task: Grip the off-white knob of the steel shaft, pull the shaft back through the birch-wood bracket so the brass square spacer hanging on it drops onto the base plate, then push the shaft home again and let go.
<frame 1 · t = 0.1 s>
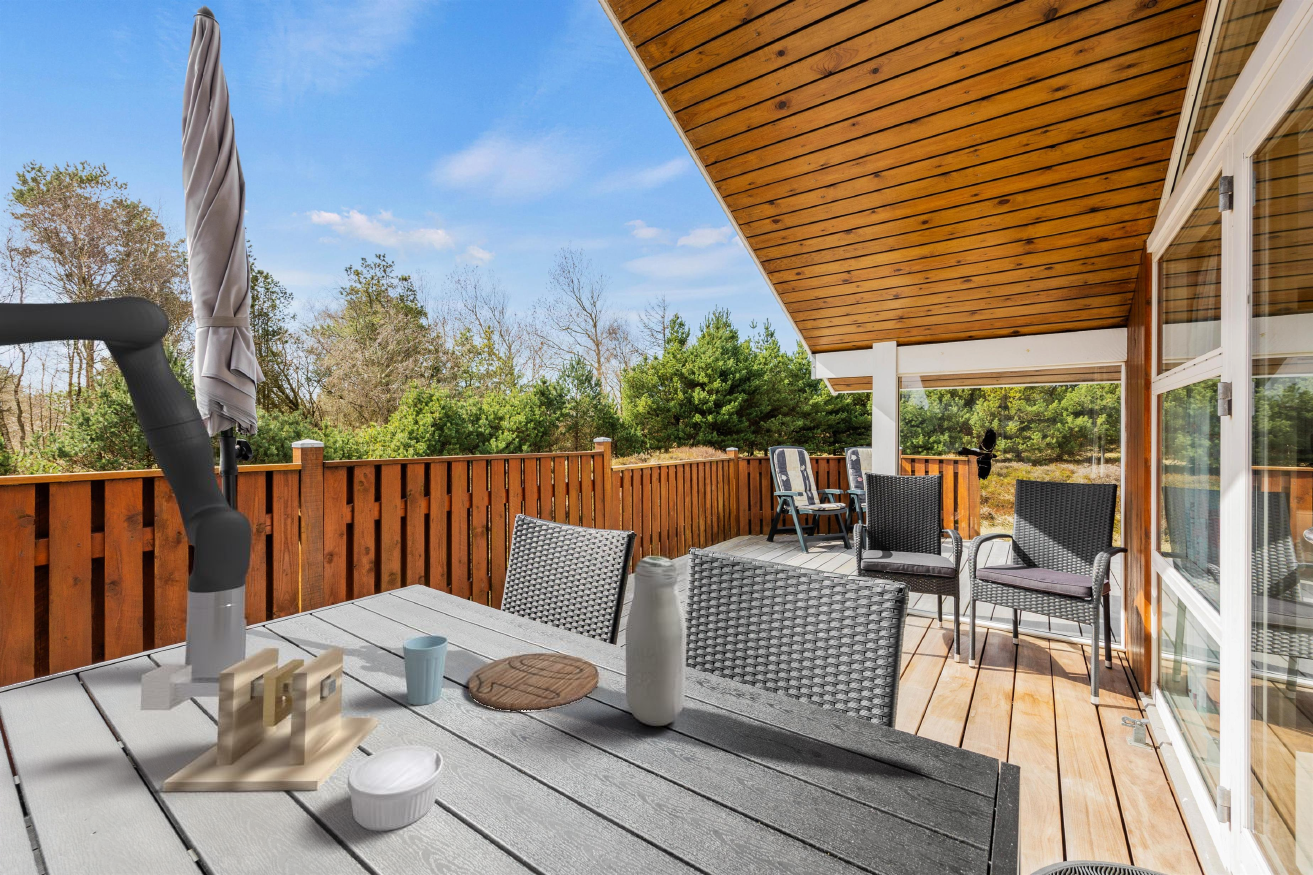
bracket: (282, 754, 85), on the table
spacer ring: (284, 691, 85), point 9 cm above the table, touching shaft
trivet: (535, 686, 112), on the table
cup: (424, 699, 104), on the table
shaft: (243, 686, 85), point 10 cm above the table, slide at 0.0 cm, touching spacer ring
ramekin: (395, 810, 72), on the table
glass bottle: (654, 722, 97), on the table
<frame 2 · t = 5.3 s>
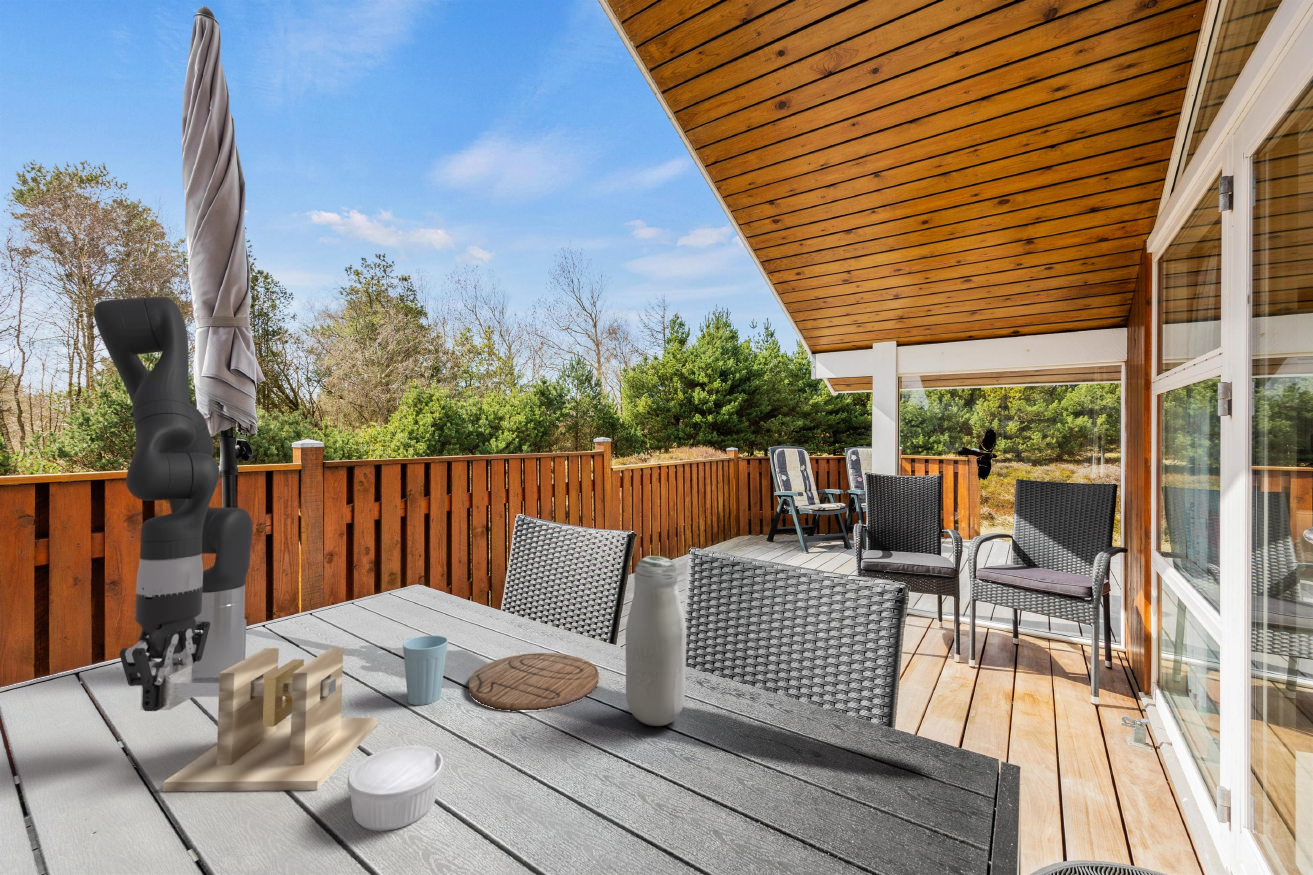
hand: (166, 702, 84), 8 cm above the table, tool pointing down, fingers closed on shaft, 4 cm apart
shaft: (243, 686, 85), point 10 cm above the table, slide at 0.0 cm, touching gripper, spacer ring
everything else where it was.
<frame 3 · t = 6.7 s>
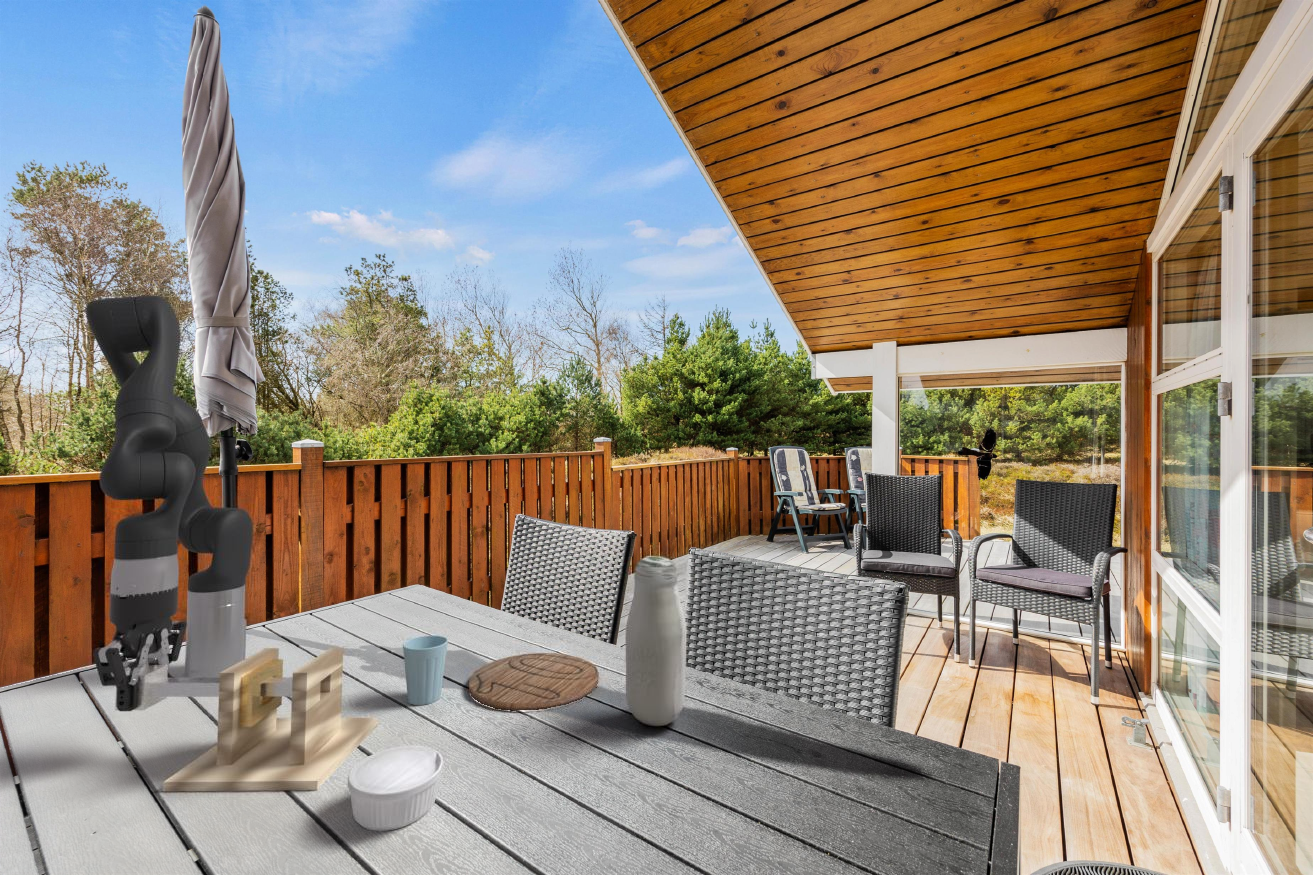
hand: (141, 702, 84), 8 cm above the table, tool pointing down, fingers closed on shaft, 4 cm apart
spacer ring: (262, 691, 85), point 9 cm above the table
shaft: (218, 686, 84), point 10 cm above the table, slide at 3.5 cm, touching gripper
everything else where it was.
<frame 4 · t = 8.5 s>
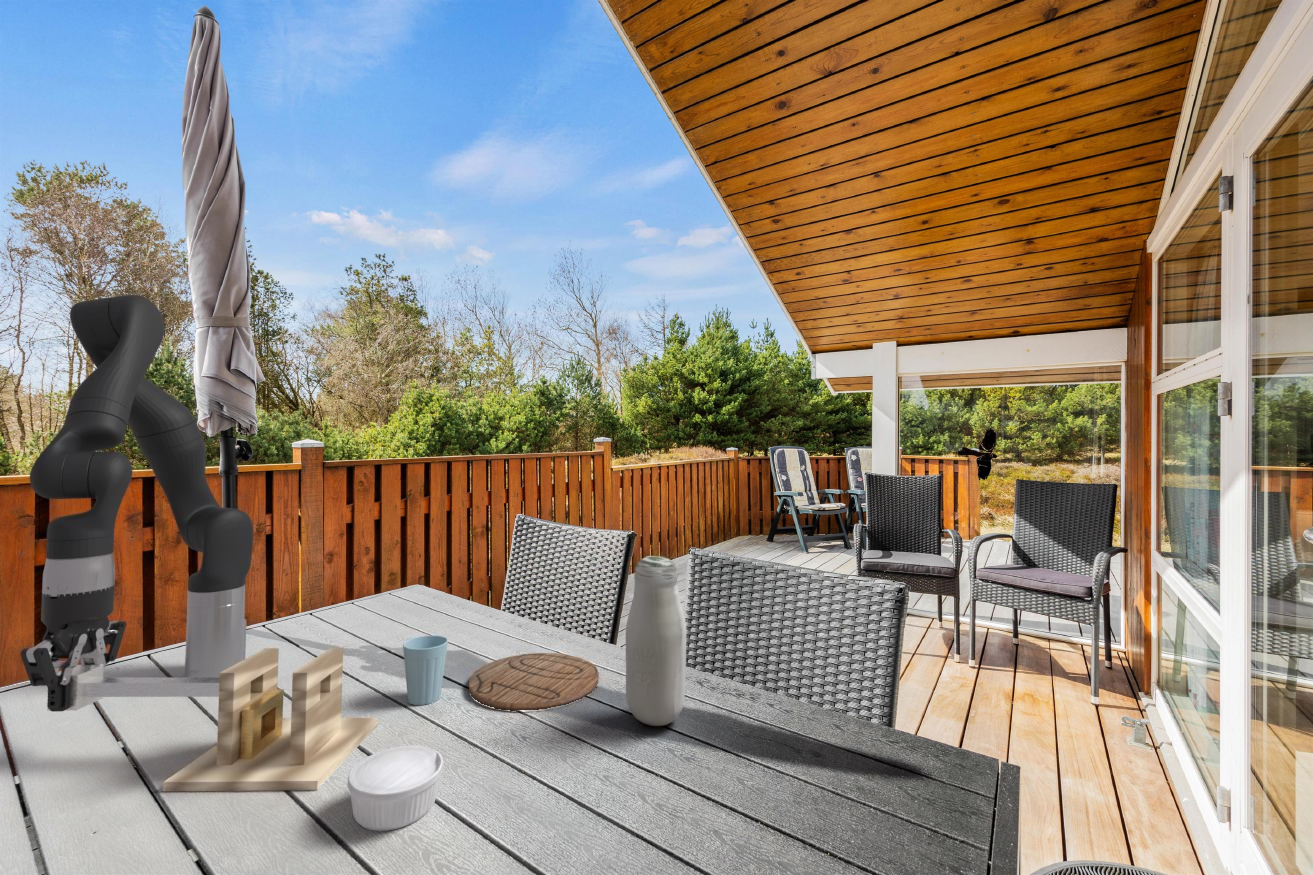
hand: (75, 702, 83), 8 cm above the table, tool pointing down, fingers closed on shaft, 4 cm apart
spacer ring: (262, 722, 85), point 5 cm above the table, touching bracket
shaft: (153, 686, 84), point 10 cm above the table, slide at 12.9 cm, touching gripper
everything else where it was.
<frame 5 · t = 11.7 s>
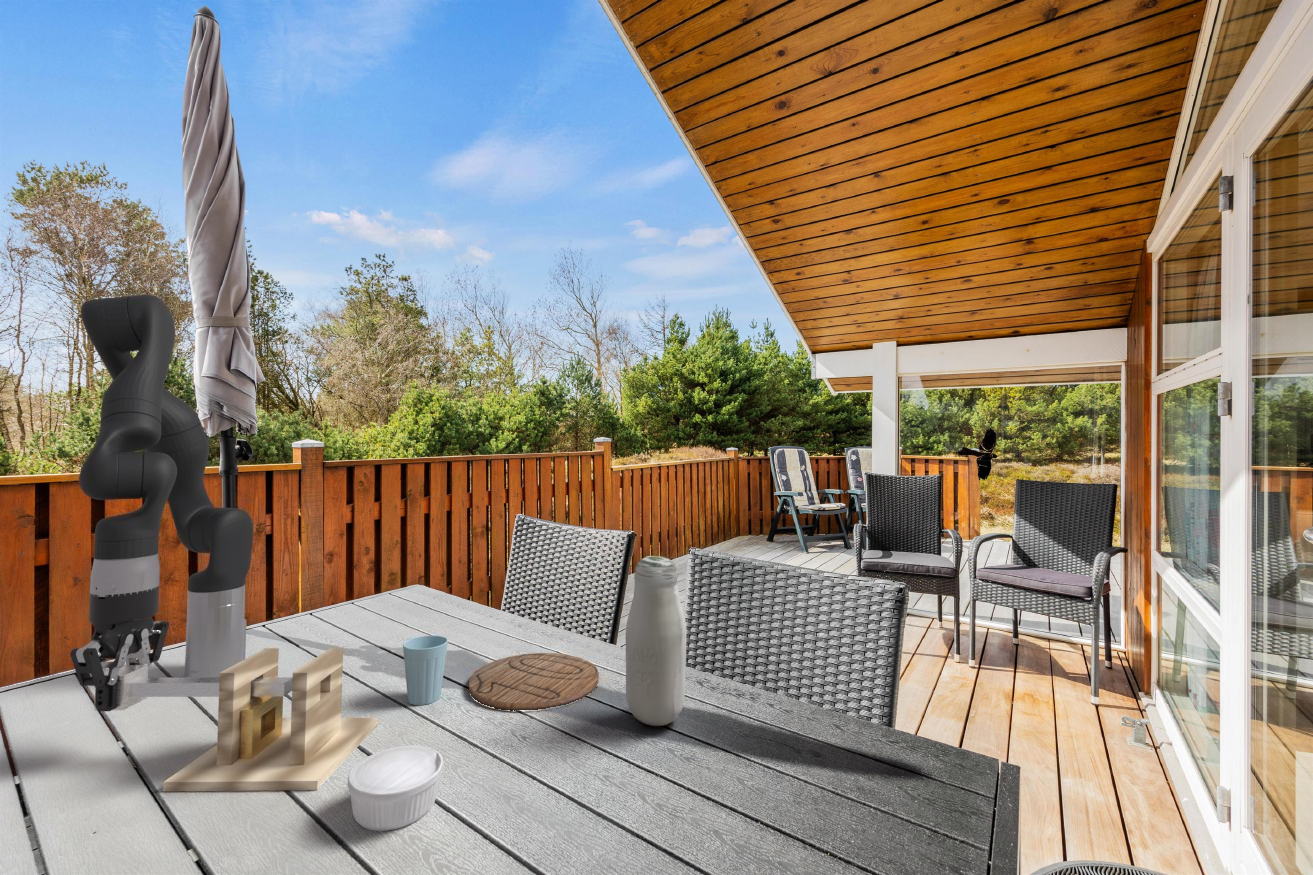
hand: (121, 702, 84), 8 cm above the table, tool pointing down, fingers closed on shaft, 4 cm apart
shaft: (198, 686, 84), point 10 cm above the table, slide at 6.4 cm, touching gripper
everything else where it was.
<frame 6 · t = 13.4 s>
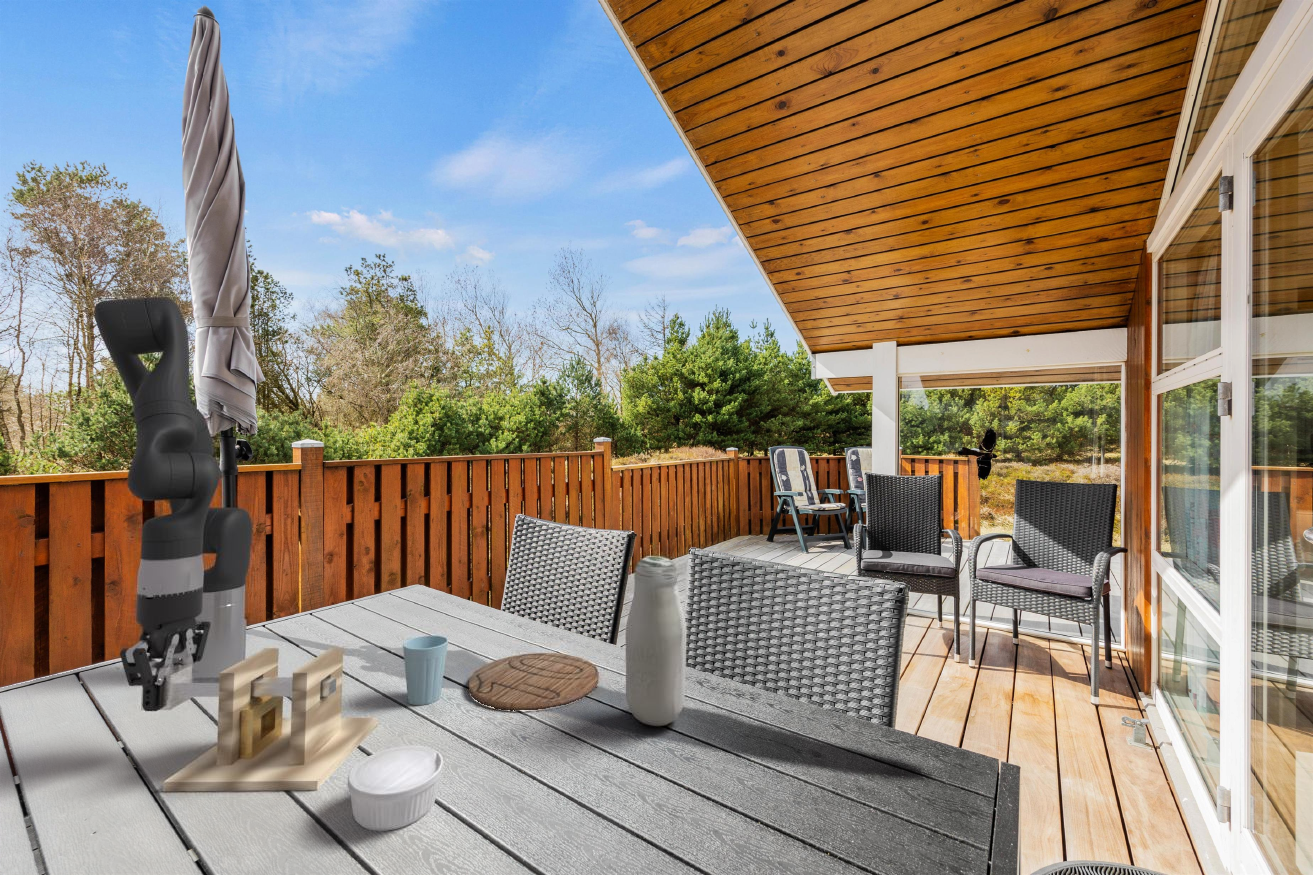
hand: (166, 702, 84), 8 cm above the table, tool pointing down, fingers closed on shaft, 4 cm apart
shaft: (243, 686, 85), point 10 cm above the table, slide at -0.1 cm, touching gripper
everything else where it was.
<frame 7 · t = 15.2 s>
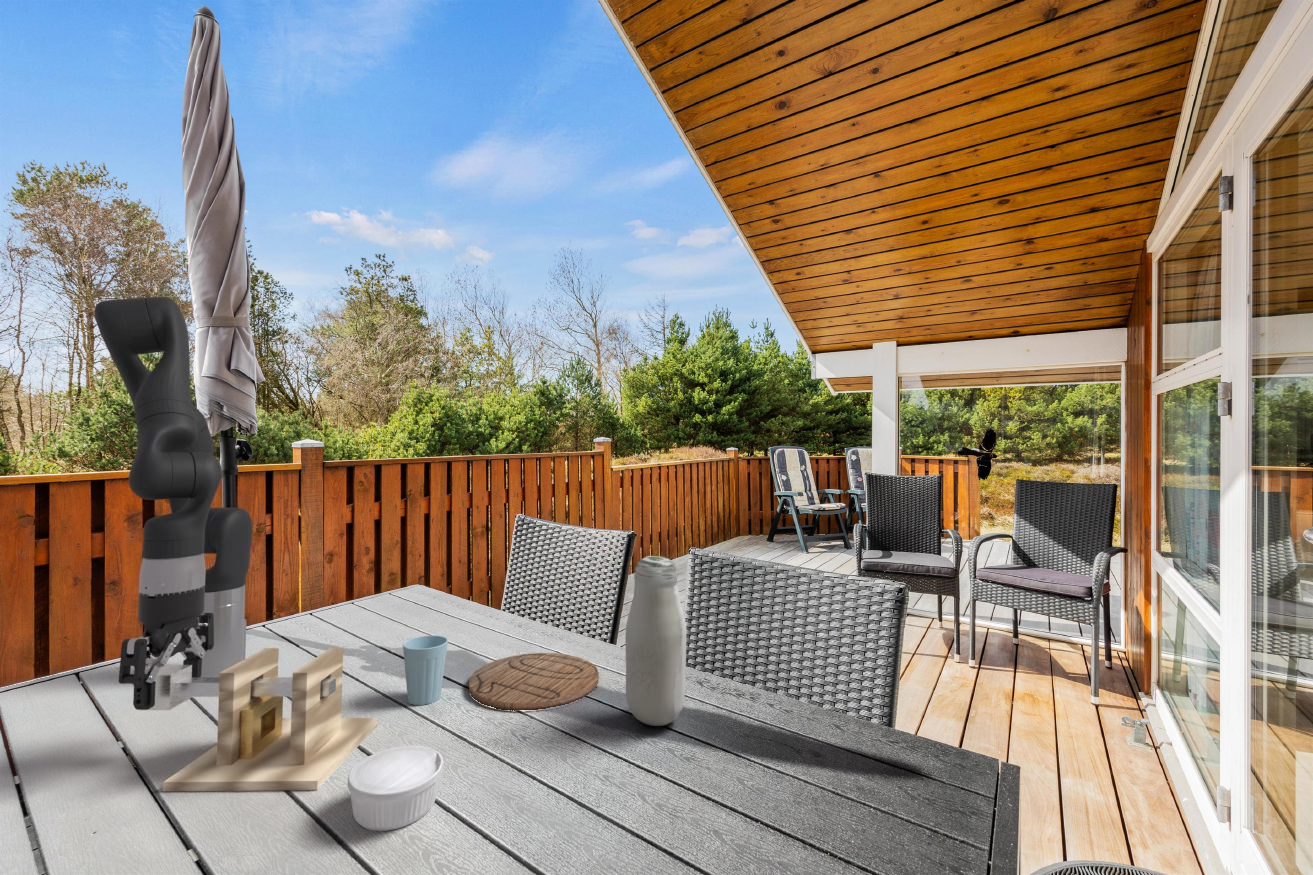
hand: (169, 695, 84), 9 cm above the table, tool pointing down, fingers open, 8 cm apart
shaft: (243, 686, 85), point 10 cm above the table, slide at 0.0 cm
everything else where it was.
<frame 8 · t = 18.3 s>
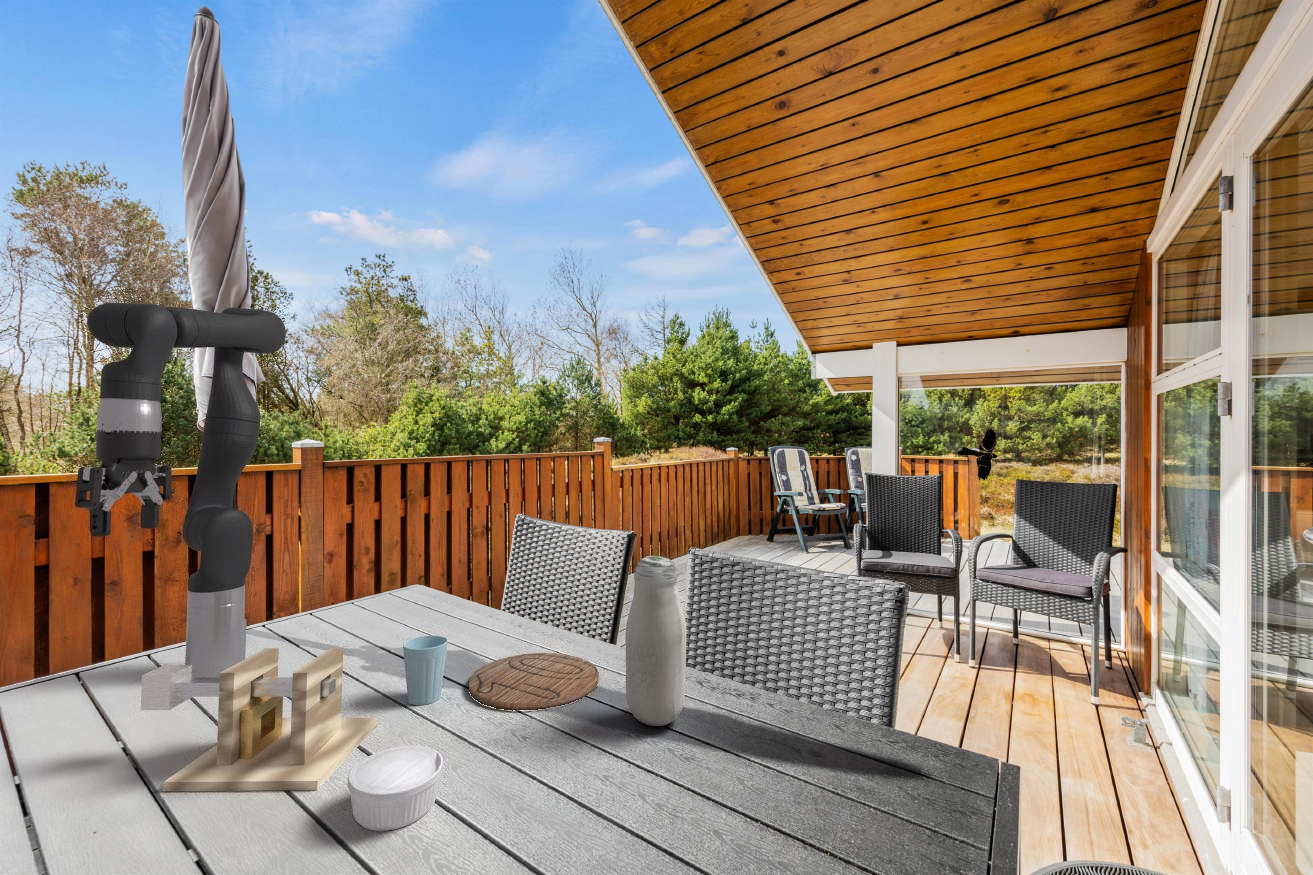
hand: (125, 531, 89), 32 cm above the table, tool pointing down, fingers open, 8 cm apart
nothing on the table moved.
at the end: spacer ring inside the target area on the bracket (3.0 cm from its centre), point 4.7 cm above the bracket's base; shaft slide at 0.0 cm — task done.
